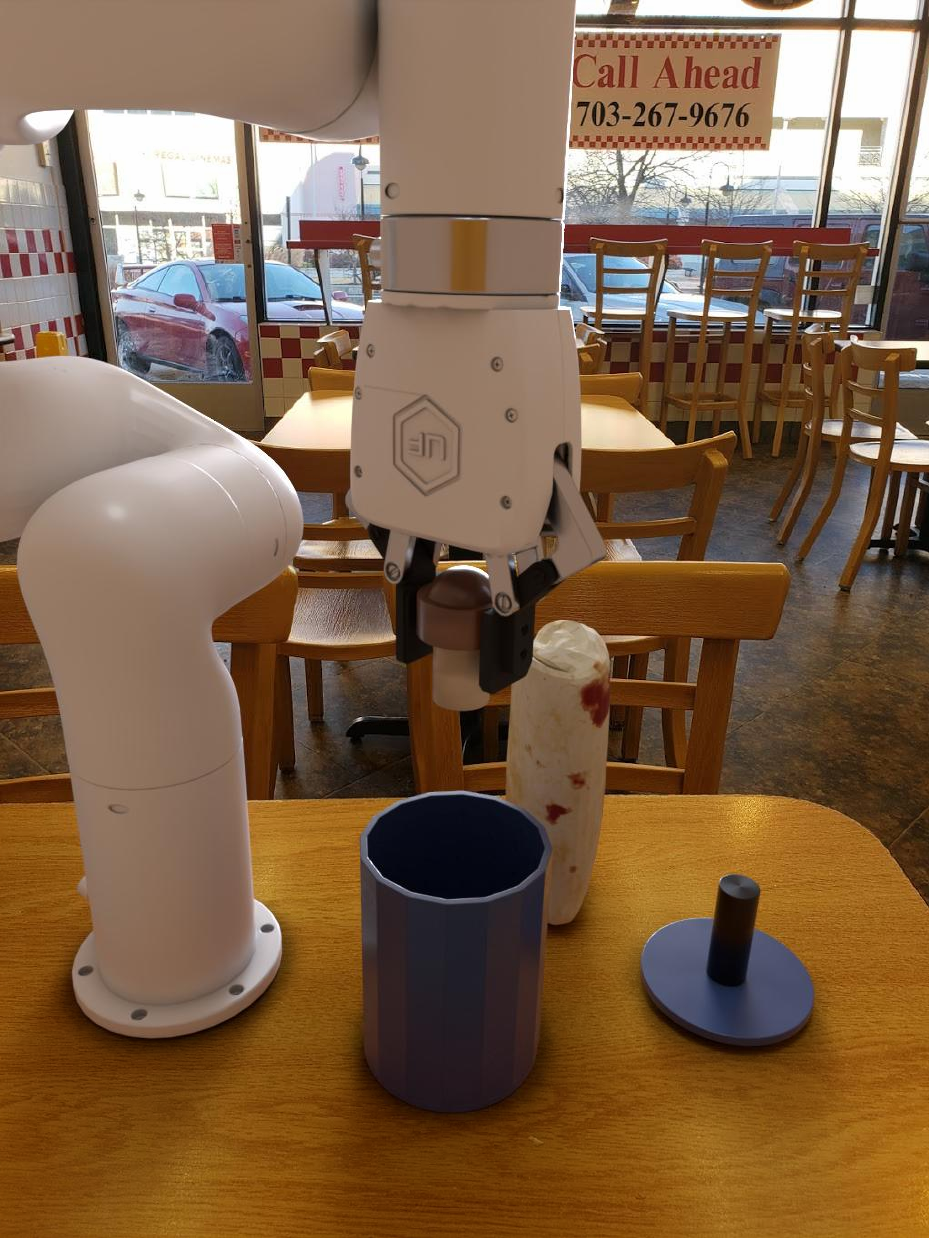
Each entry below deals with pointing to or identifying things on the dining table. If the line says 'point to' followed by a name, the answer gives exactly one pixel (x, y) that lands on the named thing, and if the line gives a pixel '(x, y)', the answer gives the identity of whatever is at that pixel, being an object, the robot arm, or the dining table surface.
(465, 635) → the mushroom
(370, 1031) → the pot
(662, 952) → the lid
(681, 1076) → the dining table surface
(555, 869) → the food model
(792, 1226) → the dining table surface
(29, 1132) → the dining table surface
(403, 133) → the robot arm
